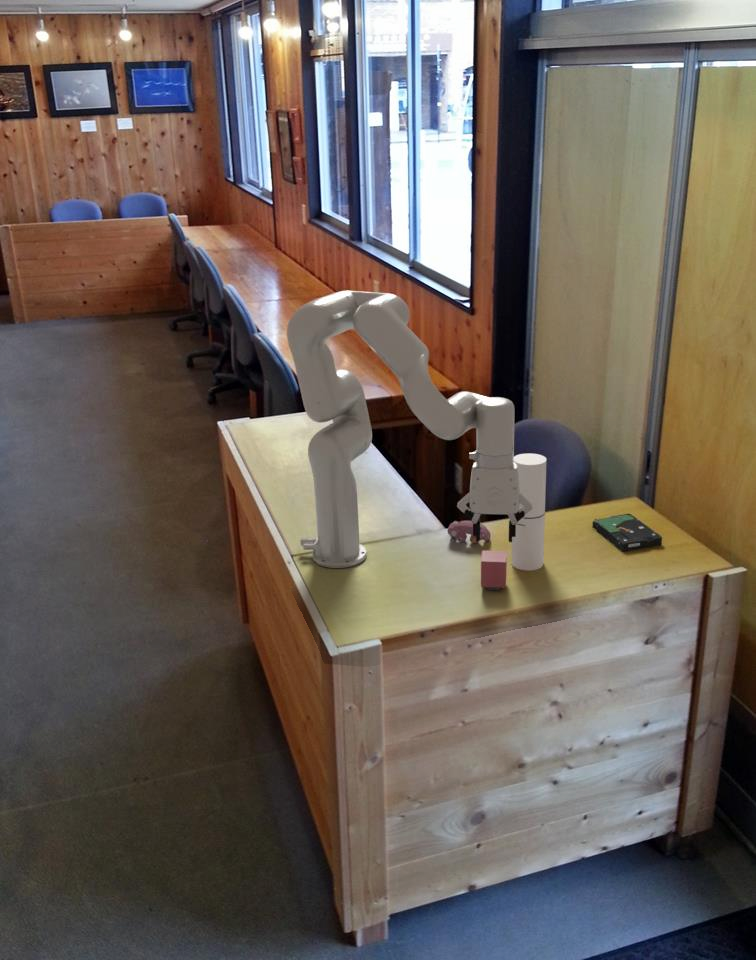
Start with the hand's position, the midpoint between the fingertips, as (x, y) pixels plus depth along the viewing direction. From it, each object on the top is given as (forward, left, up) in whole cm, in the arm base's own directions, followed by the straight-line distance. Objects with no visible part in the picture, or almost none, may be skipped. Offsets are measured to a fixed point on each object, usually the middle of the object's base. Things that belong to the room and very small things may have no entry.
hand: (494, 538), depth 195 cm
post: (0, 0, -12) cm, 12 cm away
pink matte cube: (0, 0, -10) cm, 10 cm away
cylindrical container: (+7, +12, -12) cm, 18 cm away
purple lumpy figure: (-7, +23, -12) cm, 26 cm away
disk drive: (+30, +28, -12) cm, 43 cm away
